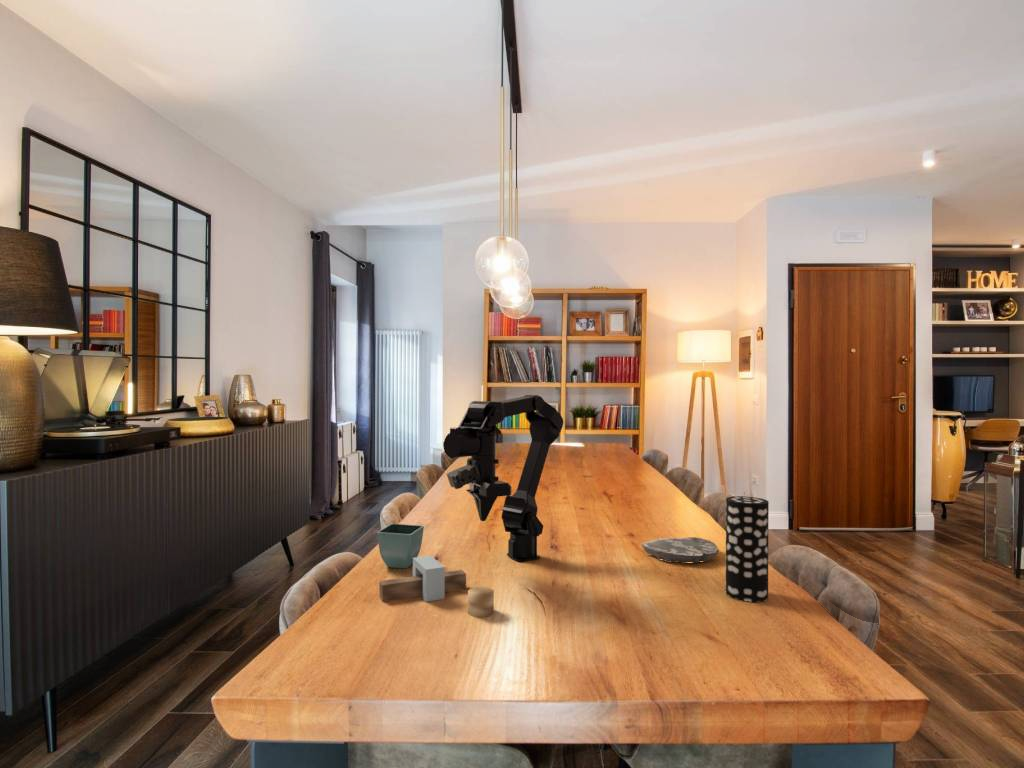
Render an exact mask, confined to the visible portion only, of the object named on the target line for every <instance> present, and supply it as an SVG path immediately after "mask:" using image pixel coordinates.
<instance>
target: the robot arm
mask: <svg viewBox="0 0 1024 768" xmlns="http://www.w3.org/2000/svg"><path fill="white" fill-rule="evenodd" d="M522 414H524V415H525V420H527V422H528V423H529V428H528V429H529V435H530V438H531V442H530V445H529V449H528V451H527V455H526V459H525V461H524V465H523V469H522V472H521V475H520V478H519V481H518V485H517V489H516V491H515V492H514V493H513V494H512V486H511V484H509V483H508V482H507V481H503V480H499V476H497V475H496V464H499V458H496V435H502V430H500V429H499V428H498V427H497V425H499V424H500V423H502V422H503V421H504V420H505V419H506V418H508V417H512V416H517V415H522ZM563 426H564V418H563V417H562V415H561V414H560V412H559V411H558V410H557V409H556V407H554V406H552V405H551V404H549V403H548V402H547V401H545V400H544V398H543V397H542V396H540V395H537V394H525V395H523V396H519V397H515V398H510V399H509V398H508V399H503V400H500V401H487V400H486V401H485V400H484V401H483V400H482V401H481V400H479V401H478V400H473V401H471V402H470V403H469V404H468V407H467V410H466V411H465V413H464V416H463V417H462V419H461V421H460V423H459V425H458V427H455V426H454V427H453V426H452V427H450V428H449V433H447V435H446V436H445V438H444V441H443V443H442V445H443V450H444V453H445V455H446V456H447V457H448V458H450V459H456V458H458V459H460V458H465V457H468V458H467V459H466V465H464V466H460V467H458V468H456V469H454V470H451V471H449V472H447V473H446V477H447V480H448V482H449V486H450V487H451V488H454V489H455V490H458V489H459V490H460V489H462V488H463V487H464V486H465V485H469V489H468V488H467V489H466V490H465V491H466V492H467V493H468V494H469V495H470V496H472V497H473V500H474V503H475V506H476V509H477V513H478V518H479V521H481V522H485V521H487V518H488V516H489V514H490V512H491V510H492V508H493V506H494V504H495V502H496V500H497V499H498V497H499V498H500V497H505V498H504V504H503V505H502V507H501V511H502V512H501V520H502V524H503V528H504V530H505V532H506V533H509V539H508V543H507V545H508V548H507V550H508V551H507V553H506V555H507V557H509V558H511V559H513V560H514V561H516V562H524V561H532V560H538V559H541V556H540V555H539V554H538V537H540V535H542V534H543V530H544V524H543V522H542V521H540V519H539V518H538V517H537V514H538V504H537V501H536V495H537V491H538V487H539V484H540V481H541V478H542V473H543V470H544V466H545V463H546V460H547V457H548V452H549V450H550V447H551V445H552V444H553V443H554V442H555V441H556V440H557V439H558V438H559V436H560V435H561V431H562V429H563Z"/></svg>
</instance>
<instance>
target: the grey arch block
mask: <svg viewBox="0 0 1024 768" xmlns="http://www.w3.org/2000/svg"><path fill="white" fill-rule="evenodd" d="M445 568H446V567H445V566H444V565H443V564H441V563H440V562H439V560H437V559H436V558H434V557H433V556H432V555H424V556H417V557H415V558H413V563H412V577H413V576H420V575H423V596H422V600H424V602H433V601H439V600H440V601H441V600H444V599H445V592H444V587H445V572H446V570H445Z"/></svg>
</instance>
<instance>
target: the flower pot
mask: <svg viewBox="0 0 1024 768" xmlns="http://www.w3.org/2000/svg"><path fill="white" fill-rule="evenodd" d="M424 527H425V526H424V525H420V524H417V525H416V524H405V523H404V524H402V523H390V524H388V525H387V526H385V527H383V528H382V529H379V530H378V531H377V532H376V534H377V540H378V541H377V542H378V549H379V550H378V551H379V554H380V558H381V559H382V561H383V563H384V564H385V566H386V567H387V568H397V569H408V568H409V567H410V566H411V565H413V558H415V557H419V554H420V551H421V548H422V544H423V543H422V542H423V538H424V537H423V535H424Z"/></svg>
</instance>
